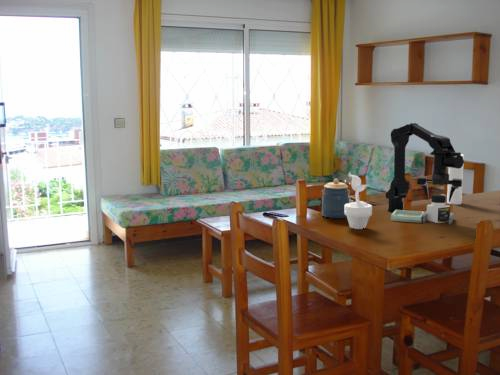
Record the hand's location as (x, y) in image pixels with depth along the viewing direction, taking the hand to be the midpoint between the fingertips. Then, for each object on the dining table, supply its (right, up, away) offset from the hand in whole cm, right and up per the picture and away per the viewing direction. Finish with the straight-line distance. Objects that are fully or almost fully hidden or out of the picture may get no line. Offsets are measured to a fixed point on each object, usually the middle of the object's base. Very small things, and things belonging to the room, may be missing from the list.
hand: (438, 200), depth 263 cm
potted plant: (-38, -11, -11) cm, 41 cm away
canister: (-44, -8, +13) cm, 46 cm away
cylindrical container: (+21, -2, +42) cm, 47 cm away
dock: (0, -9, +1) cm, 9 cm away
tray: (-12, -8, +6) cm, 16 cm away
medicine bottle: (0, -9, +1) cm, 9 cm away
